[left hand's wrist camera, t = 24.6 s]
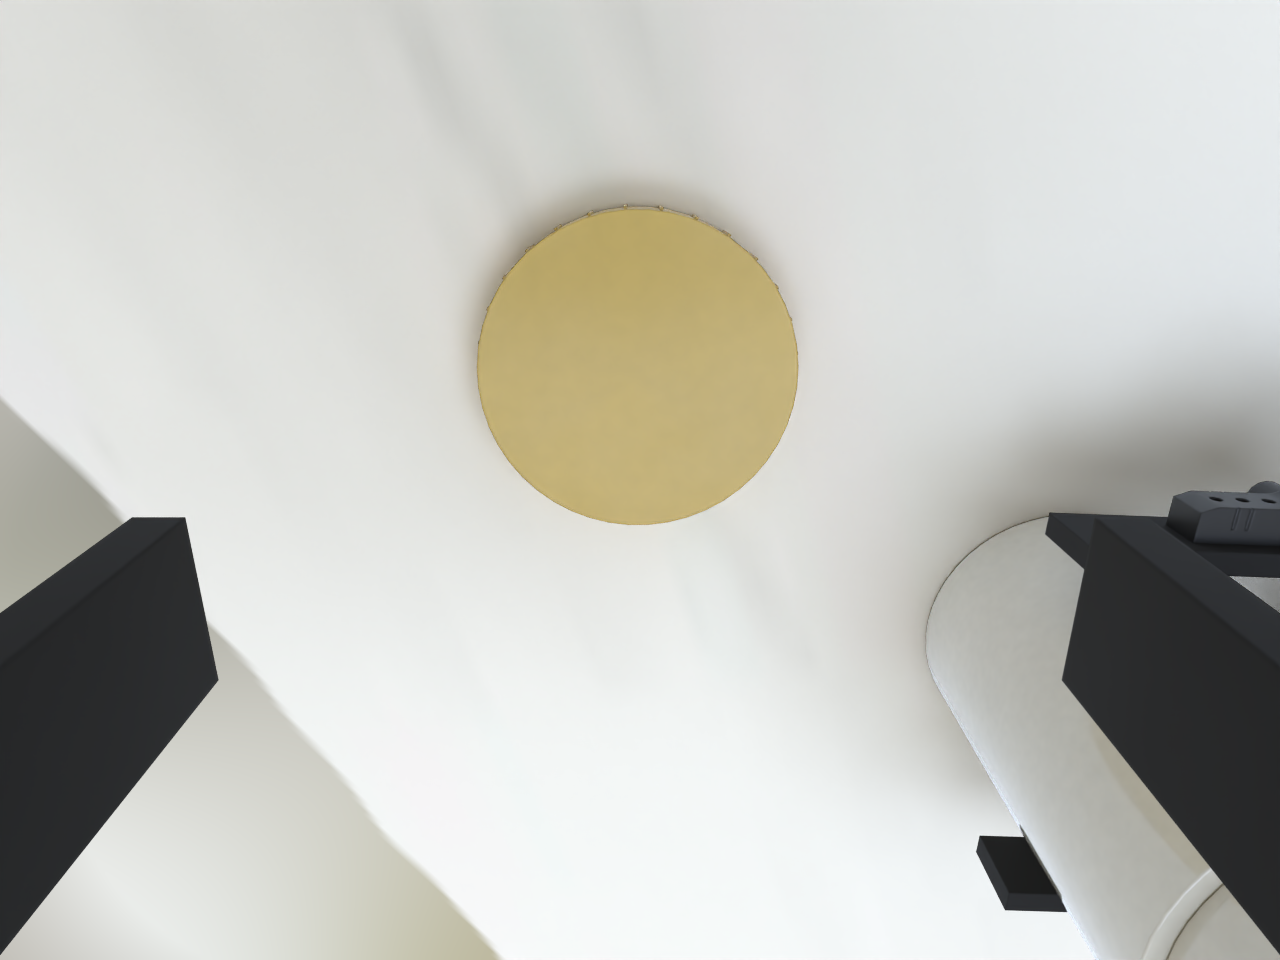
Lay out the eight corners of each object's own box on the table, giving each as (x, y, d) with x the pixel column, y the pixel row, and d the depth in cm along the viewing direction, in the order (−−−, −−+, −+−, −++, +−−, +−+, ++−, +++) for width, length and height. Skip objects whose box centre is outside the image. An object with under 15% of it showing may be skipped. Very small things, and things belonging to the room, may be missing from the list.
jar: (1222, 641, 35) (1760, 1074, 18) (1011, 774, 37) (1318, 1271, 20) (1094, 463, 32) (1582, 777, 16) (875, 618, 34) (1099, 1039, 18)
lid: (422, 349, 31) (406, 363, 28) (651, 132, 28) (652, 129, 26) (625, 556, 33) (624, 583, 31) (849, 375, 31) (865, 390, 29)
